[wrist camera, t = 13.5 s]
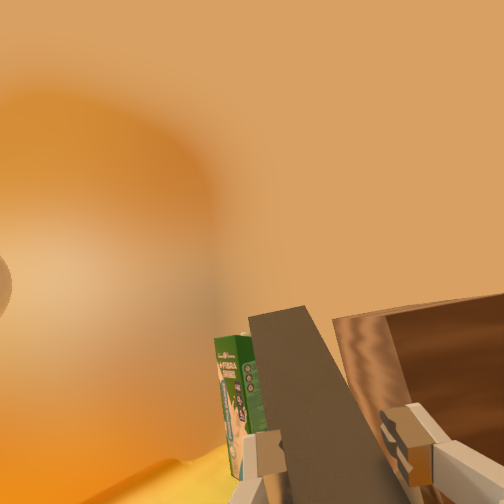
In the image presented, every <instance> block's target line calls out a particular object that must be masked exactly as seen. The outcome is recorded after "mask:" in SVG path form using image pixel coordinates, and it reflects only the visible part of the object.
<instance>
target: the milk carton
mask: <svg viewBox="0 0 504 504" xmlns="http://www.w3.org/2000/svg"><path fill="white" fill-rule="evenodd" d="M214 341H215V350H216V358H217V366H218V374H219V381H220V389H221V397H222V406H223V414H224V422H225V430H226V438H227V446H228V454H229V462H230V469H231V475H233V476H234V477H235V478H237V479H238V480H240V481H243V435H249V434H255V433H257V432H266V431H267V425H266V419H265V413H264V407H263V402H262V396H261V390H260V384H259V378H258V372H257V367H256V361H255V355H254V349H253V343H252V338H251V332H242V333H241V335H232V336H225V337H218V338H214Z"/></svg>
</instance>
